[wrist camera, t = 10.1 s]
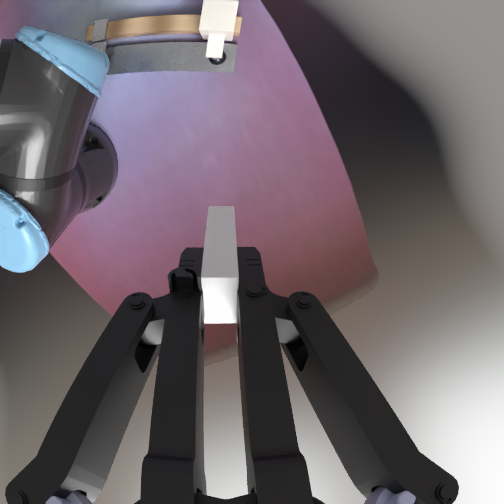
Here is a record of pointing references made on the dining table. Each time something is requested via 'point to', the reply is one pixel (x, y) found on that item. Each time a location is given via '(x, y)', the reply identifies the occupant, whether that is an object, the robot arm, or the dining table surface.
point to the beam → (154, 26)
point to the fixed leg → (100, 33)
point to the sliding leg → (217, 25)
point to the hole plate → (169, 58)
